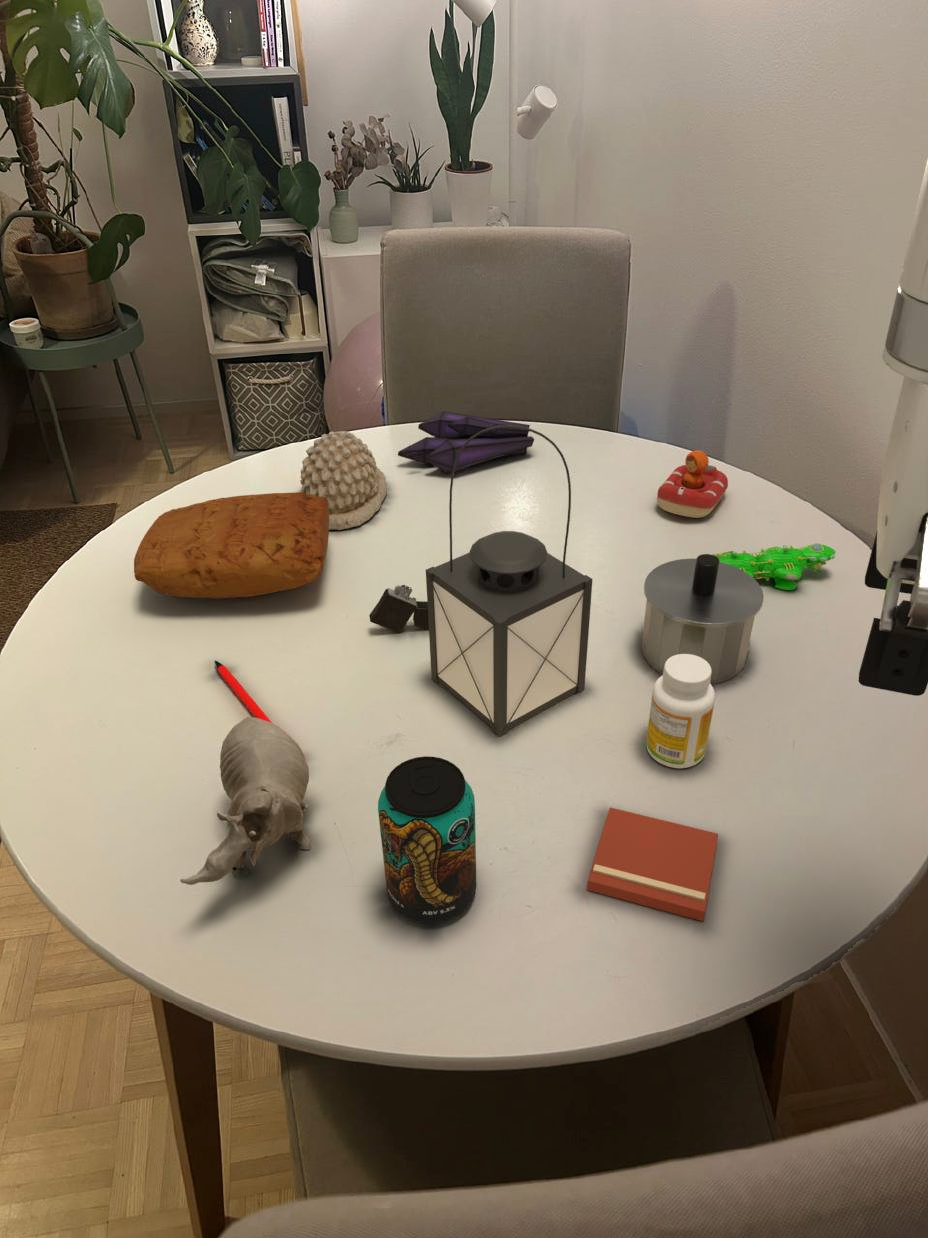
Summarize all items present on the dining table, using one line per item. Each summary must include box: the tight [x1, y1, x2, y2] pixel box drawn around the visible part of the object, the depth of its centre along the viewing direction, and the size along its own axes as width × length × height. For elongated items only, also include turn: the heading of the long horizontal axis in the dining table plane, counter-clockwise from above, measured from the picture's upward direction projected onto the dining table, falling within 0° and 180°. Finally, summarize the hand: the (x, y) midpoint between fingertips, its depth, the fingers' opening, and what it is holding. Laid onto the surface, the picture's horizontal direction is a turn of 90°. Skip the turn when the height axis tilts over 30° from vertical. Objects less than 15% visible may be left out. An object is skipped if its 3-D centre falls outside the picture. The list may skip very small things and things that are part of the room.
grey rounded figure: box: [179, 716, 312, 886], centre depth 74 cm, size 8×14×15 cm
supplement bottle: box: [645, 654, 716, 769], centre depth 81 cm, size 5×5×10 cm
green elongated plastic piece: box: [711, 542, 836, 591], centre depth 105 cm, size 7×18×4 cm, turn 99°
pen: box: [214, 660, 273, 723], centre depth 89 cm, size 1×19×1 cm, turn 36°
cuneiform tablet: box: [133, 491, 330, 599], centre depth 107 cm, size 22×17×8 cm
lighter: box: [368, 584, 429, 634], centre depth 99 cm, size 8×2×5 cm
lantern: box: [425, 425, 594, 737], centre depth 84 cm, size 11×11×28 cm
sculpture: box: [299, 430, 388, 531], centre depth 121 cm, size 12×17×10 cm
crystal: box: [397, 410, 535, 474], centre depth 132 cm, size 7×12×20 cm
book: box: [586, 807, 719, 922], centre depth 73 cm, size 9×8×2 cm
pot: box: [641, 599, 756, 685], centre depth 93 cm, size 11×11×8 cm
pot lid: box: [643, 553, 764, 628], centre depth 90 cm, size 12×12×5 cm
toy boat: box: [656, 449, 729, 519], centre depth 119 cm, size 8×12×8 cm, turn 151°
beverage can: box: [377, 755, 478, 924], centre depth 68 cm, size 7×7×12 cm
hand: (890, 634), depth 51 cm, fingers open, 9 cm apart
